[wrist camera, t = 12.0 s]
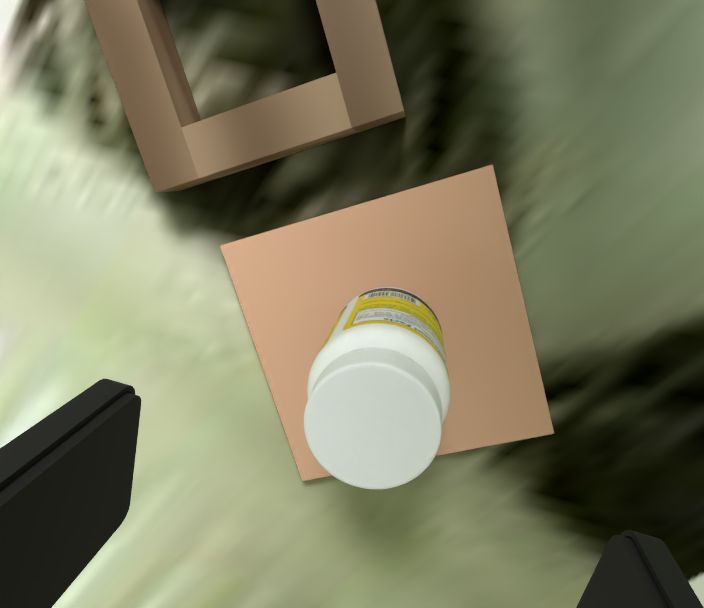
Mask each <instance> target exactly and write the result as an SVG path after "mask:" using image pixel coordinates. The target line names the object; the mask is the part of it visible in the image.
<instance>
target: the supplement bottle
mask: <svg viewBox="0 0 704 608" xmlns="http://www.w3.org/2000/svg"><path fill="white" fill-rule="evenodd" d="M307 395H308V401H307V403H306V407H305V412H304V432H305V437H306V440H307V443H308V446H309V448H310V450H311V452H312V453H313V455H314V457H315V458H316V460H317V461H318V462H319V463H320V465H321V466H322V467H323V468H324V469H325V470H326V471H328V472H329V473H330V474H331V475H332V476H334V477H336V478H337V479H339V480H341V481H342V482H345V483H347V484H350V485H352V486H356V487H360V488H365V489H388V488H393V487H397V486H400V485H402V484H405V483H407V482H409V481H411V480H413V479H414V478H416V477H417V476H419V475H420V474H421V473H422V472H423V471H424V470H425V469H426V468H427V467H428V466H429V465H430V463H431V462H432V460H433V459H434V457H435V455H436V453H437V451H438V448H439V445H440V441H441V435H442V424H443V422H444V420H445V418H446V415H447V412H448V408H449V403H450V381H449V374H448V367H447V361H446V354H445V347H444V341H443V335H442V330H441V326H440V323H439V320H438V318H437V316H436V314H435V313H434V311H433V310H432V309H431V307H430V306H429V305H428V304H427V303H426V302H425V301H424V300H423V299H421V298H420V297H419V296H417V295H415V294H413V293H411V292H409V291H407V290H404V289H401V288H395V287H379V288H374V289H371V290H368V291H365V292H363V293H361V294H359V295H358V296H356V297H355V298H354V299H352V300H351V301H350V302H349V303H348V304H347V305H346V307H345V308H344V309H343V310H342V312H341V313H340V315H339V317H338V318H337V320H336V322H335V324H334V326H333V328H332V330H331V332H330V333H329V335H328V337H327V339H326V341H325V343H324V344H323V346H322V348H321V349H320V351H319V353H318V354H317V356H316V358H315V360H314V362H313V364H312V366H311V369H310V372H309V377H308V386H307Z"/></svg>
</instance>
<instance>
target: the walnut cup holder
mask: <svg viewBox="0 0 704 608" xmlns="http://www.w3.org/2000/svg"><path fill="white" fill-rule="evenodd" d="M84 1H85V4H86V7H87V9H88V12H89V15H90V17H91V20H92V23H93V26H94V28H95V31H96V34H97V36H98V39H99V42H100V45H101V47H102V50H103V53H104V55H105V58H106V61H107V64H108V66H109V69H110V72H111V74H112V77H113V80H114V83H115V85H116V88H117V91H118V93H119V96H120V99H121V102H122V104H123V107H124V110H125V112H126V115H127V118H128V121H129V123H130V126H131V129H132V131H133V134H134V137H135V140H136V142H137V145H138V148H139V150H140V153H141V156H142V159H143V161H144V164H145V167H146V169H147V172H148V175H149V178H150V180H151V183H152V186H153V188H154V191H155V193H158V192H172V191H181V190H184V189H187V188H190V187H194V186H197V185H200V184H203V183H206V182H209V181H212V180H215V179H218V178H221V177H224V176H227V175H230V174H233V173H236V172H239V171H242V170H246V169H249V168H252V167H255V166H258V165H261V164H264V163H267V162H270V161H273V160H276V159H279V158H282V157H285V156H288V155H291V154H294V153H297V152H301V151H304V150H307V149H310V148H313V147H316V146H319V145H322V144H325V143H328V142H331V141H334V140H337V139H340V138H343V137H346V136H349V135H353V134H356V133H359V132H362V131H365V130H368V129H371V128H374V127H377V126H380V125H383V124H386V123H389V122H392V121H395V120H398V119H401V118H405V117H406V116H405V112H404V108H403V104H402V100H401V96H400V92H399V89H398V85H397V81H396V77H395V73H394V69H393V65H392V62H391V58H390V54H389V50H388V46H387V42H386V38H385V34H384V31H383V27H382V23H381V19H380V15H379V11H378V7H377V4H376V0H316V2H317V6H318V10H319V13H320V17H321V20H322V24H323V27H324V31H325V34H326V38H327V42H328V45H329V49H330V52H331V56H332V59H333V63H334V66H335V70H336V73H334V74H331V75H328V76H325V77H322V78H320V79H317V80H314V81H311V82H308V83H305V84H303V85H300V86H297V87H294V88H291V89H289V90H286V91H283V92H280V93H277V94H274V95H272V96H269V97H266V98H263V99H260V100H258V101H255V102H252V103H249V104H246V105H243V106H241V107H238V108H235V109H232V110H229V111H227V112H224V113H221V114H218V115H215V116H212V117H210V118H207V119H204V120H200V117H199V114H198V111H197V108H196V105H195V102H194V99H193V96H192V93H191V90H190V87H189V84H188V81H187V78H186V75H185V72H184V70H183V67H182V64H181V61H180V58H179V55H178V52H177V49H176V46H175V43H174V40H173V37H172V34H171V31H170V28H169V25H168V22H167V20H166V17H165V14H164V11H163V8H162V5H161V2H160V0H84Z"/></svg>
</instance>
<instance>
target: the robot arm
mask: <svg viewBox="0 0 704 608" xmlns="http://www.w3.org/2000/svg"><path fill="white" fill-rule="evenodd" d="M140 409H141V398H140V397H139V396H137V395H135V390H134V388H133V387H132V386H130V385H126V384H123V383H119V382H116V381H112V380H109V379H102V380H100V381H98V382H97V383H95V384H94V385H92V386H91V387H89V388H88V389H87V390H85V391H84V392H82V393H81V394H79V395H78V396H76V397H75V398H73V399H72V400H70V401H69V402H68V403H66V404H65V405H63V406H62V407H60V408H59V409H57V410H56V411H54V412H53V413H51V414H50V415H49V416H47V417H46V418H44V419H43V420H41V421H40V422H38V423H37V424H35V425H34V426H32V427H31V428H30V429H28V430H27V431H25V432H24V433H22V434H21V435H19V436H18V437H16V438H15V439H13V440H12V441H11V442H9V443H8V444H6V445H5V446H3V447H2V448H0V608H51V607H52V606H53V605H54V604H55V603H56V601H57V600H58V599H59V598H60V597H61V595H62V594H63V593H64V592H65V591H66V589H67V588H68V587H69V586H70V585H71V584H72V582H73V581H74V580H75V579H76V578H77V576H78V575H79V574H80V573H81V572H82V570H83V569H84V568H85V567H86V566H87V564H88V563H89V562H90V561H91V560H92V558H93V557H94V556H95V555H96V554H97V552H98V551H99V550H100V549H101V548H102V546H103V545H104V544H105V543H106V542H107V540H108V539H109V538H110V537H111V536H112V534H113V533H114V532H115V531H116V530H117V528H118V527H119V526H120V525H121V523H122V522H123V520H124V519H125V517H126V515H127V512H128V510H129V506H130V499H131V490H132V481H133V472H134V463H135V454H136V445H137V436H138V427H139V418H140ZM577 608H703V606H702V604H701V603H700V601H699V599H698V598H697V596H696V594H695V593H694V591H693V589H692V588H691V586H690V584H689V583H688V581H687V579H686V578H685V576H684V574H683V573H682V571H681V569H680V568H679V566H678V564H677V563H676V561H675V559H674V558H673V556H672V554H671V553H670V551H669V549H668V548H667V546H666V545H665V543H664V542H663V541H662V540H660V539H658V538H655V537H652V536H648V535H645V534H642V533H638V532H635V531H631V530H625V531H624V532H622V533H621V535H620V536H619V535H613V536H612V537H611V538H610V540H609V542H608V544H607V546H606V548H605V550H604V552H603V554H602V556H601V558H600V560H599V562H598V564H597V566H596V568H595V571H594V573H593V575H592V577H591V579H590V581H589V583H588V585H587V587H586V589H585V591H584V593H583V595H582V597H581V599H580V601H579V603H578V605H577Z"/></svg>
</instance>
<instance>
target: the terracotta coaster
mask: <svg viewBox="0 0 704 608" xmlns="http://www.w3.org/2000/svg"><path fill="white" fill-rule="evenodd" d="M220 247H221V250H222V253H223V255H224V258H225V261H226V264H227V267H228V270H229V273H230V275H231V278H232V281H233V284H234V287H235V290H236V293H237V296H238V298H239V301H240V304H241V307H242V310H243V313H244V316H245V318H246V321H247V324H248V327H249V330H250V333H251V336H252V338H253V341H254V344H255V347H256V350H257V353H258V356H259V358H260V361H261V364H262V367H263V370H264V373H265V376H266V378H267V381H268V384H269V387H270V390H271V393H272V396H273V398H274V401H275V404H276V407H277V410H278V413H279V416H280V418H281V421H282V424H283V427H284V430H285V433H286V436H287V438H288V441H289V444H290V447H291V450H292V453H293V456H294V459H295V461H296V464H297V467H298V470H299V473H300V476H301V479H302V481H306V480H311V479H316V478H322V477H327V476H332V475H331V474H330V473H329V472H328V471H326V470H325V469H324V468H323V467H322V466H321V465H320V463H319V462H318V461H317V460H316V458H315V457H314V455H313V453H312V452H311V450H310V448H309V446H308V443H307V440H306V437H305V432H304V412H305V407H306V403H307V401H308V395H307V386H308V377H309V372H310V369H311V366H312V364H313V362H314V360H315V358H316V356H317V354H318V353H319V351H320V349H321V348H322V346H323V344H324V343H325V341H326V339H327V337H328V335H329V333H330V332H331V330H332V328H333V326H334V324H335V322H336V320H337V318H338V317H339V315H340V313H341V312H342V310H343V309H344V308H345V307H346V305H347V304H348V303H349V302H350V301H351V300H352V299H354V298H355V297H356V296H358V295H359V294H361V293H363V292H365V291H368V290H371V289H374V288H379V287H395V288H401V289H404V290H407V291H409V292H411V293H413V294H415V295H417V296H419V297H420V298H421V299H423V300H424V301H425V302H426V303H427V304H428V305H429V306H430V307H431V309H432V310H433V311H434V313H435V314H436V316H437V318H438V320H439V323H440V326H441V330H442V335H443V341H444V347H445V354H446V361H447V367H448V374H449V381H450V403H449V408H448V412H447V415H446V418H445V420H444V422H443V424H442V435H441V441H440V445H439V448H438V451H437V453H436V455H435V456H438V455H443V454H449V453H454V452H459V451H465V450H470V449H475V448H481V447H486V446H491V445H496V444H502V443H507V442H512V441H518V440H523V439H528V438H534V437H539V436H544V435H549V434H554V430H553V426H552V421H551V417H550V413H549V408H548V404H547V400H546V395H545V391H544V387H543V382H542V378H541V373H540V369H539V365H538V360H537V356H536V352H535V347H534V343H533V339H532V334H531V330H530V325H529V321H528V317H527V312H526V308H525V304H524V299H523V295H522V291H521V286H520V282H519V277H518V273H517V269H516V264H515V260H514V256H513V251H512V247H511V243H510V238H509V234H508V229H507V225H506V221H505V216H504V212H503V208H502V203H501V199H500V195H499V190H498V186H497V181H496V177H495V173H494V168H493V165H489V166H485V167H482V168H479V169H475V170H472V171H468V172H465V173H462V174H458V175H455V176H452V177H448V178H445V179H442V180H438V181H435V182H432V183H428V184H425V185H421V186H418V187H415V188H411V189H408V190H405V191H401V192H398V193H395V194H391V195H388V196H384V197H381V198H378V199H374V200H371V201H368V202H364V203H361V204H358V205H354V206H351V207H348V208H344V209H341V210H337V211H334V212H331V213H327V214H324V215H321V216H317V217H314V218H311V219H307V220H304V221H301V222H297V223H294V224H290V225H287V226H284V227H280V228H277V229H274V230H270V231H267V232H264V233H260V234H257V235H253V236H250V237H247V238H243V239H240V240H237V241H233V242H230V243H227V244H224V245H221V246H220Z"/></svg>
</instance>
